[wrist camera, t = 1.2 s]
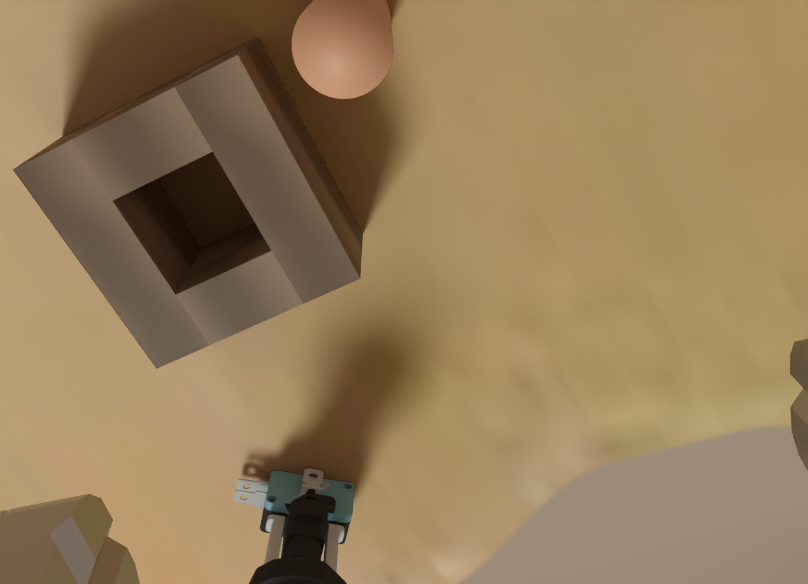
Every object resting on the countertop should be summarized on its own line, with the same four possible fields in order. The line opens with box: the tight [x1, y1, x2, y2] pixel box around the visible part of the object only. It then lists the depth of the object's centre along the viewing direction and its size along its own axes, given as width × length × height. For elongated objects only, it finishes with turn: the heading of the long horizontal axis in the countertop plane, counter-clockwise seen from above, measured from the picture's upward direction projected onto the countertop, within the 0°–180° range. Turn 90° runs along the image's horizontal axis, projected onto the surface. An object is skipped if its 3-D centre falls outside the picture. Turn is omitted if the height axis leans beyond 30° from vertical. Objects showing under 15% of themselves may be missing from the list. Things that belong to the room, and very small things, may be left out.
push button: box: [234, 468, 354, 584], centre depth 38 cm, size 7×5×10 cm
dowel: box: [292, 0, 393, 99], centre depth 28 cm, size 3×3×9 cm
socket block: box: [13, 37, 363, 369], centre depth 33 cm, size 10×10×5 cm
